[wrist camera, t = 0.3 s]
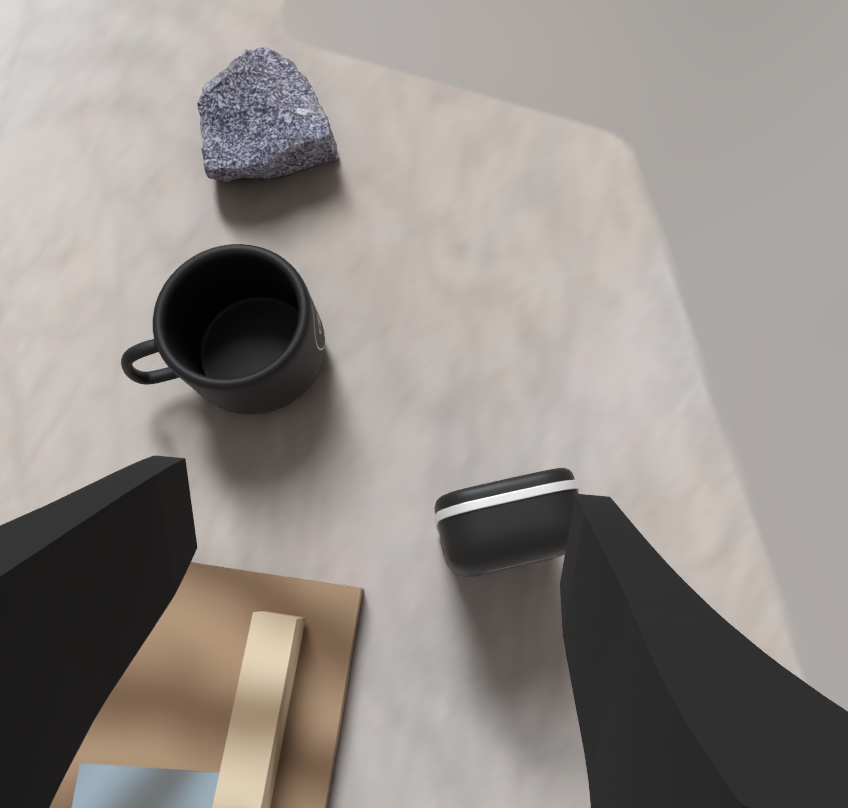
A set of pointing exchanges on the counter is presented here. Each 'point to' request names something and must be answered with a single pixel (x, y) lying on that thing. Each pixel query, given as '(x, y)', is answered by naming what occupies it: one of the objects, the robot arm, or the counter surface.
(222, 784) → the leg
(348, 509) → the counter surface
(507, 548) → the battery charger
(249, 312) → the mug
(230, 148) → the rock
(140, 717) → the board
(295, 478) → the counter surface
